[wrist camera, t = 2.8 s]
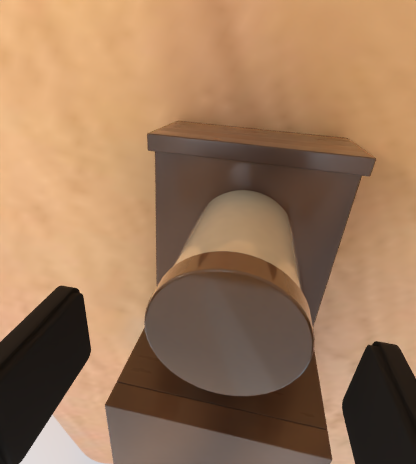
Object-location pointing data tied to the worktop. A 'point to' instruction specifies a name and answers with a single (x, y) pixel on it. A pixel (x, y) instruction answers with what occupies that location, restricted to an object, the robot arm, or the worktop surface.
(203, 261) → the spice jar
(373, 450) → the robot arm
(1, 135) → the worktop surface
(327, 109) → the worktop surface
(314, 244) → the step rack
